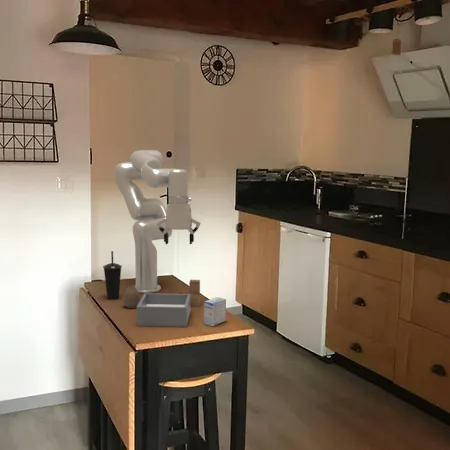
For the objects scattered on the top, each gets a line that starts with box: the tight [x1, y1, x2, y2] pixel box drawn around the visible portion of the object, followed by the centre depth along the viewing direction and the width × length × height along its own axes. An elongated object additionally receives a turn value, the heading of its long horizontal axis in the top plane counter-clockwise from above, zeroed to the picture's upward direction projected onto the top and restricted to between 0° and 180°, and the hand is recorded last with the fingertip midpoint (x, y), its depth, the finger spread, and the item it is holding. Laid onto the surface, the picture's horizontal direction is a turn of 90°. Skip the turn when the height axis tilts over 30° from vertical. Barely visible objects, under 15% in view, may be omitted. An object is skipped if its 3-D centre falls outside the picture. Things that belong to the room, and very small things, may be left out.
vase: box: [122, 284, 141, 309], centre depth 225 cm, size 7×7×9 cm
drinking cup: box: [102, 251, 123, 300], centre depth 237 cm, size 8×8×20 cm
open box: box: [136, 292, 192, 328], centre depth 212 cm, size 18×18×7 cm
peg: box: [188, 279, 201, 307], centre depth 229 cm, size 4×4×10 cm
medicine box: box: [203, 296, 227, 327], centre depth 207 cm, size 8×4×9 cm, turn 145°
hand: (178, 243), depth 225 cm, fingers open, 9 cm apart
